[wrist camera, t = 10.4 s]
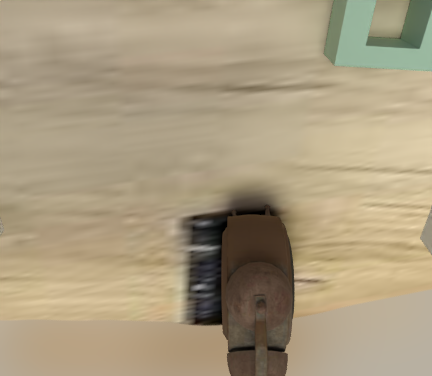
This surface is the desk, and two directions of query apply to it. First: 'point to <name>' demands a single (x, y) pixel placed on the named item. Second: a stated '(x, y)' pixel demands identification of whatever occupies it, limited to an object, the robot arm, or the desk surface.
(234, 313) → the alarm clock
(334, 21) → the socket block
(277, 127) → the desk surface
